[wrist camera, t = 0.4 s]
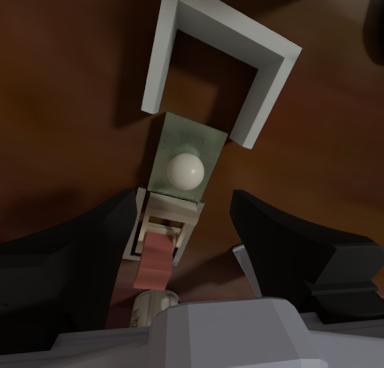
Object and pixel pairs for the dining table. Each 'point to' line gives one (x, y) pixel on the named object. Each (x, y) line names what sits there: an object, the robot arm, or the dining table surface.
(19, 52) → the dining table surface
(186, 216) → the carriage
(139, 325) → the mug
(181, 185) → the ball
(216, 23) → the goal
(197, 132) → the track
